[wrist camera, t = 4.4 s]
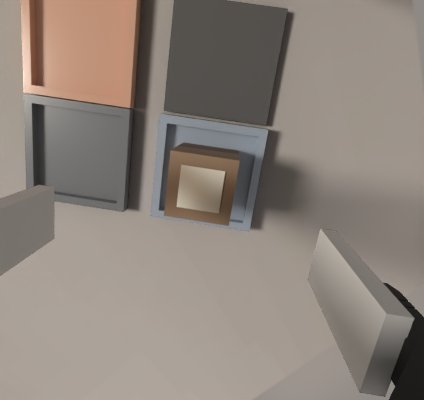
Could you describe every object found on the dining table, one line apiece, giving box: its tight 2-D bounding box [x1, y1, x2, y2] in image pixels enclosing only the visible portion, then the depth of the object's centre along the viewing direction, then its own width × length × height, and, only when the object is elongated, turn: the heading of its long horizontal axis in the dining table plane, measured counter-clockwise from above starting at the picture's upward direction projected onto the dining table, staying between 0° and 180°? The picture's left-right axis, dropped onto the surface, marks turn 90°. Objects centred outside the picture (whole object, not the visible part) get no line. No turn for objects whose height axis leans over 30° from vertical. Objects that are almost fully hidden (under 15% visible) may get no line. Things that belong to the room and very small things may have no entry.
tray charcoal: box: [24, 94, 134, 212], centre depth 29 cm, size 9×9×1 cm
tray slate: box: [151, 114, 268, 232], centre depth 28 cm, size 9×9×1 cm
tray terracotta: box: [21, 0, 142, 108], centre depth 26 cm, size 9×9×1 cm
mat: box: [164, 0, 288, 126], centre depth 26 cm, size 9×9×1 cm
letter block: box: [164, 142, 240, 226], centre depth 26 cm, size 5×5×6 cm
